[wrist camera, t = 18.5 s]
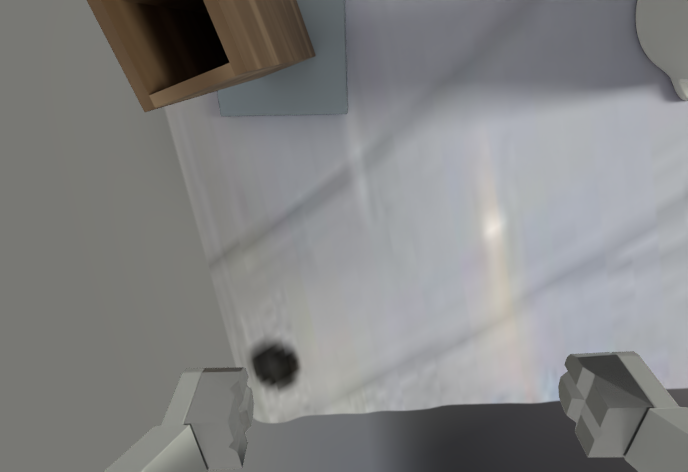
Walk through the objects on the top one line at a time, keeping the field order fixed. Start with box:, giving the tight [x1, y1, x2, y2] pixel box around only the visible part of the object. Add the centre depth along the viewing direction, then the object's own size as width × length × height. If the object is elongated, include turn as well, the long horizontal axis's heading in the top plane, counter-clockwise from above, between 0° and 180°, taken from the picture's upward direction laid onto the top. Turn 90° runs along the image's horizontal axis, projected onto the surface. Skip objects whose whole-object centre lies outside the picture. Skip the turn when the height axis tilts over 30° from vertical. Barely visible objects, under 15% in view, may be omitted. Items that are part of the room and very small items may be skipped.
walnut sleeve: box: [87, 0, 316, 112], centre depth 33 cm, size 6×6×24 cm
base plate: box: [217, 0, 348, 116], centre depth 42 cm, size 14×16×8 cm
